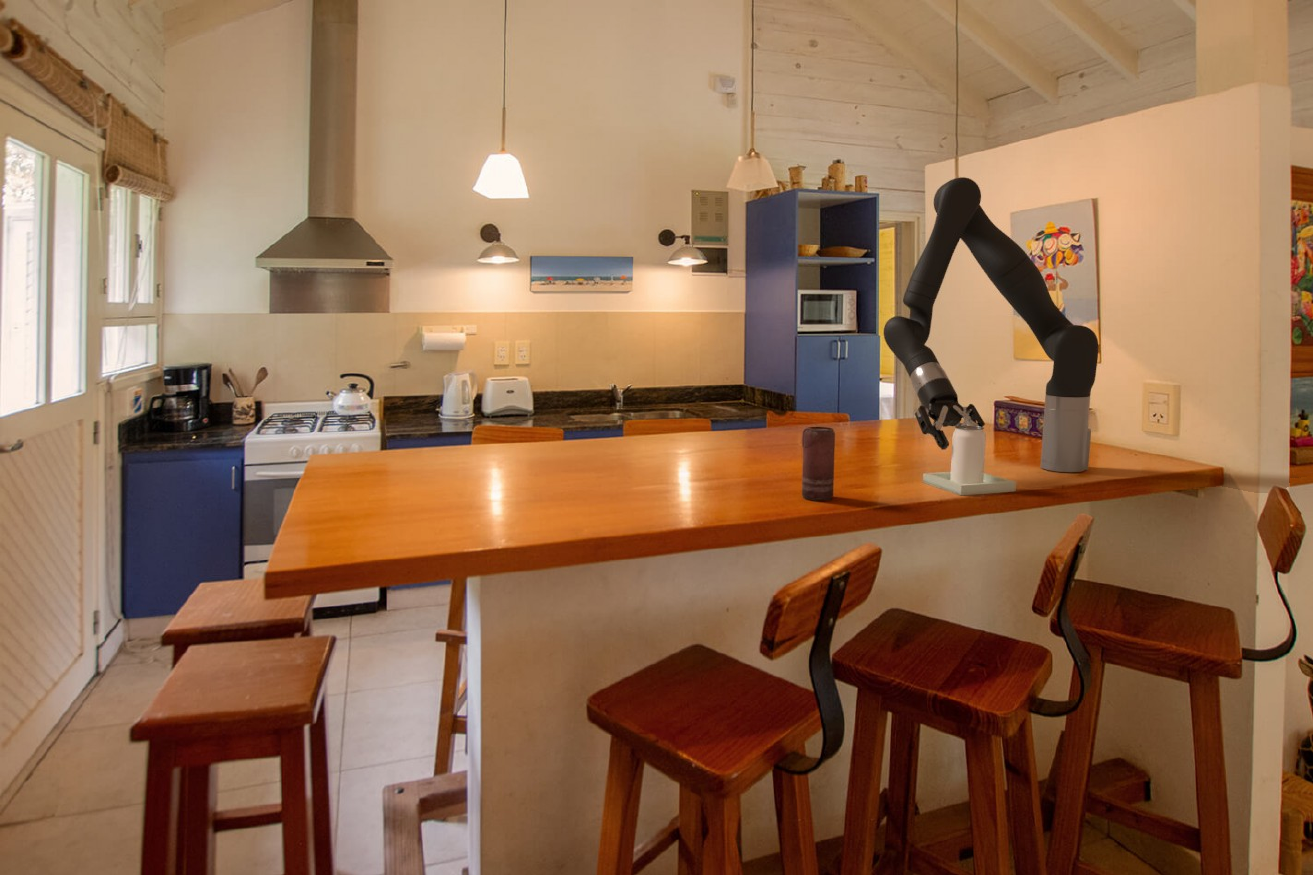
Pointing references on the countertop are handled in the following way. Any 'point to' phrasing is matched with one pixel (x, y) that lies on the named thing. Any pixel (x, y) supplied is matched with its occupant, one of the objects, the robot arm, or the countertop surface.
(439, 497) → the countertop surface
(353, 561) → the countertop surface
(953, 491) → the tray
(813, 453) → the can
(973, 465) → the can
